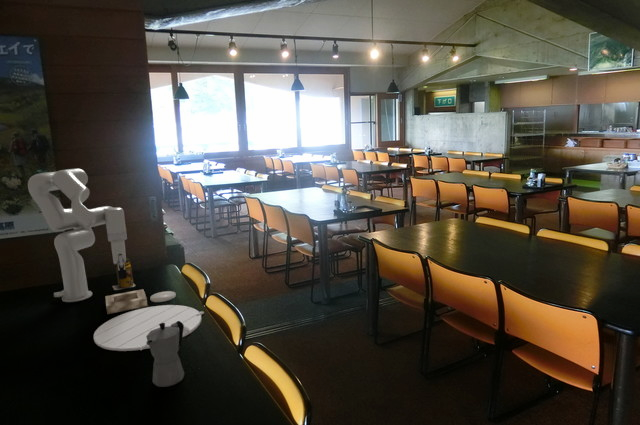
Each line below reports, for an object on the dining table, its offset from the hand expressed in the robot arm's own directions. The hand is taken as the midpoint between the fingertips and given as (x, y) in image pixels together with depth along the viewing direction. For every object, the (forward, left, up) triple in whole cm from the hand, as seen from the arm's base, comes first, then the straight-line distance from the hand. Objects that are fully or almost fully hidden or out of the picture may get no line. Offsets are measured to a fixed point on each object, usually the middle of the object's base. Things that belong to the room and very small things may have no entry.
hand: (122, 276), depth 198 cm
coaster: (+16, 0, -13) cm, 21 cm away
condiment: (0, 0, -5) cm, 5 cm away
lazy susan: (+7, -31, -14) cm, 35 cm away
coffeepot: (+8, -74, -13) cm, 76 cm away
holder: (0, 0, -13) cm, 13 cm away
